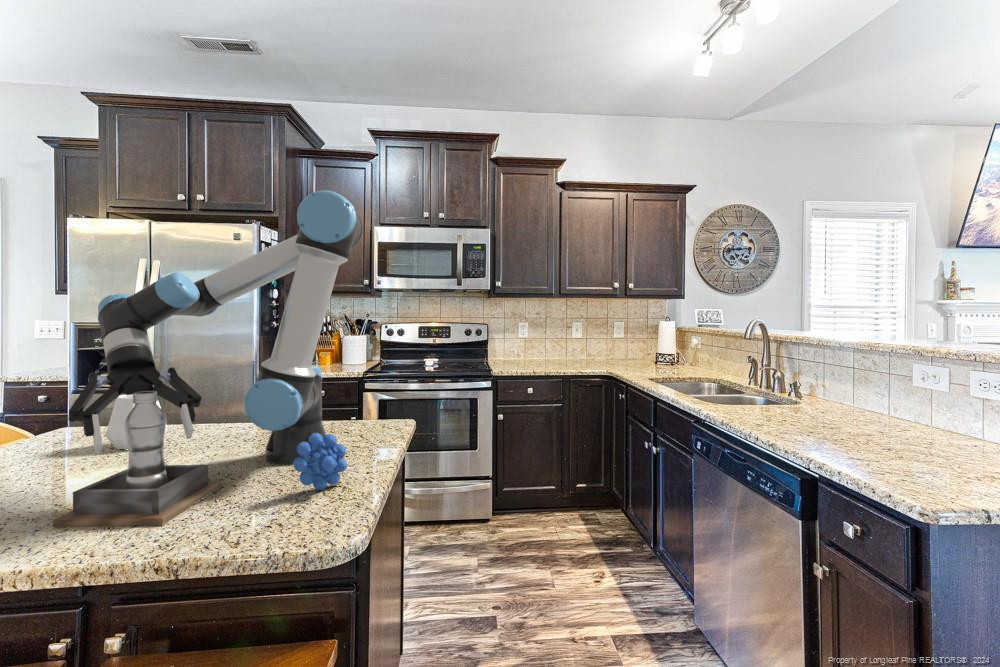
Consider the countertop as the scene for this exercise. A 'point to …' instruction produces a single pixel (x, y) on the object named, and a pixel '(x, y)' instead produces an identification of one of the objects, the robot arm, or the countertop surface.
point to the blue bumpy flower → (320, 461)
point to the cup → (120, 421)
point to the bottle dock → (138, 499)
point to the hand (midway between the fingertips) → (147, 441)
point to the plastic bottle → (145, 442)
